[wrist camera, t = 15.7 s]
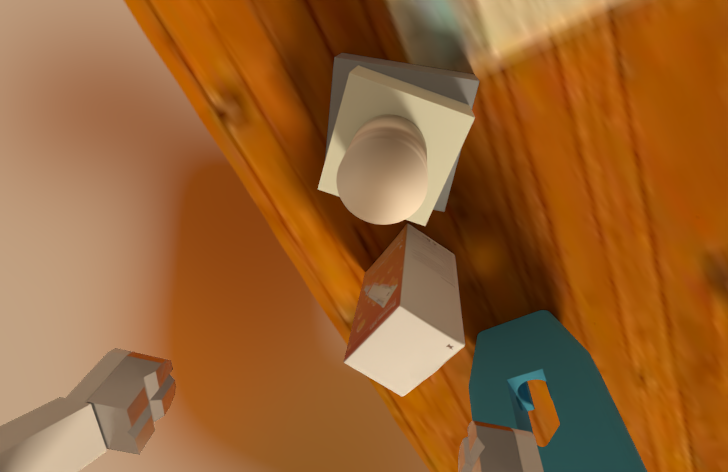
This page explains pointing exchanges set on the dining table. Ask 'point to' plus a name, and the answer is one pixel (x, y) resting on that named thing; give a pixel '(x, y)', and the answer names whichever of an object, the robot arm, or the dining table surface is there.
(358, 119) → the tower top
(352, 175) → the beige rounded cylinder
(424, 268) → the small box
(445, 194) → the tower base
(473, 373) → the block
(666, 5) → the dining table surface
